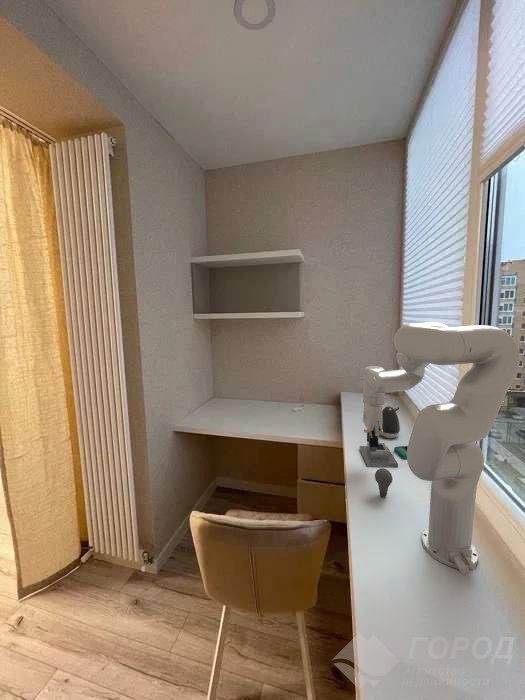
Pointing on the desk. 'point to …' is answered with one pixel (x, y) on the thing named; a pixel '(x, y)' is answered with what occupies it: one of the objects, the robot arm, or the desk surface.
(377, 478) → the light bulb
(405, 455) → the digital multimeter
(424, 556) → the desk surface
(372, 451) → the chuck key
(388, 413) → the pump dispenser
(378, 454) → the block
